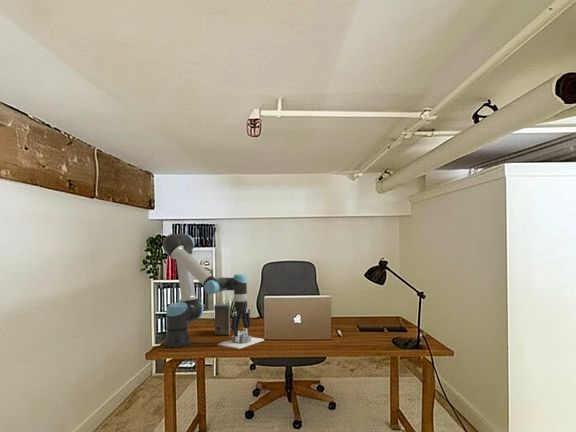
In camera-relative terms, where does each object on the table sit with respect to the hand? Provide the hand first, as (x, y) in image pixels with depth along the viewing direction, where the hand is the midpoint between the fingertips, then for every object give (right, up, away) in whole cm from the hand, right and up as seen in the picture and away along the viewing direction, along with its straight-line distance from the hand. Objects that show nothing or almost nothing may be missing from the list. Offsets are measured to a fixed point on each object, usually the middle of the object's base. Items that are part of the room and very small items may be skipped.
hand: (241, 340), depth 252 cm
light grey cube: (0, 0, 0) cm, 0 cm away
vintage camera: (-14, -3, +26) cm, 29 cm away
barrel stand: (0, -1, 0) cm, 1 cm away
